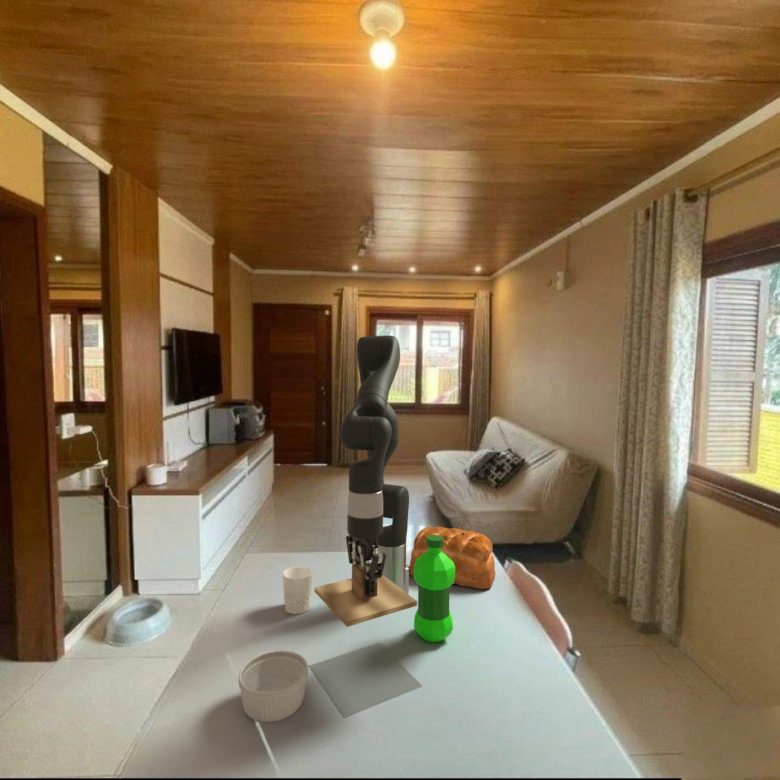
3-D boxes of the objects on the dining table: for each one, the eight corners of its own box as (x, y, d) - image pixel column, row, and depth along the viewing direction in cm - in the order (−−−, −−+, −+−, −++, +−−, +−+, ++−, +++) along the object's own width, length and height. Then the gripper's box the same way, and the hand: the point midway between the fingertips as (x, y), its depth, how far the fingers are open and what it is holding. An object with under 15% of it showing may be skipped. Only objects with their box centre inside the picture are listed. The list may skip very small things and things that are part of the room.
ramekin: (272, 740, 85) (272, 702, 85) (223, 711, 92) (223, 676, 92) (321, 697, 96) (321, 663, 96) (274, 674, 103) (274, 642, 103)
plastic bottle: (403, 638, 117) (405, 538, 116) (430, 621, 125) (432, 527, 124) (436, 655, 110) (438, 549, 109) (462, 636, 118) (464, 537, 117)
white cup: (276, 611, 129) (276, 575, 128) (293, 598, 136) (293, 564, 136) (301, 618, 126) (302, 581, 125) (317, 604, 133) (317, 569, 133)
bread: (490, 593, 141) (491, 542, 141) (405, 578, 150) (406, 530, 150) (496, 574, 154) (498, 527, 154) (418, 562, 163) (419, 517, 163)
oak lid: (378, 575, 112) (378, 546, 112) (416, 605, 98) (417, 572, 98) (314, 591, 104) (314, 560, 104) (346, 626, 90) (347, 590, 90)
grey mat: (379, 644, 114) (379, 642, 114) (422, 688, 99) (422, 685, 99) (308, 668, 105) (308, 665, 105) (343, 720, 90) (343, 717, 90)
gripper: (398, 517, 96) (397, 600, 97) (365, 500, 108) (364, 574, 109) (365, 523, 92) (364, 610, 93) (334, 504, 104) (334, 581, 105)
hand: (364, 590), depth 101 cm, fingers closed on oak lid, 4 cm apart
